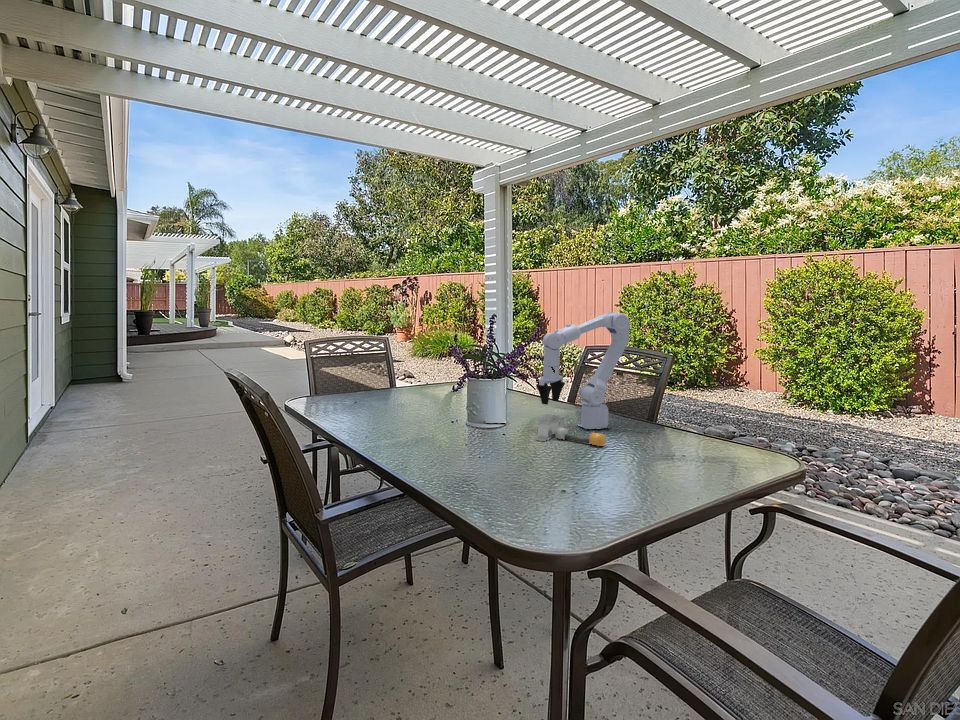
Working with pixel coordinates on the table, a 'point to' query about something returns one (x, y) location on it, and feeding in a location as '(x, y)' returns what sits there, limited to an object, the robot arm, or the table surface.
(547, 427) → the housing
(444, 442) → the table surface
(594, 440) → the plug
